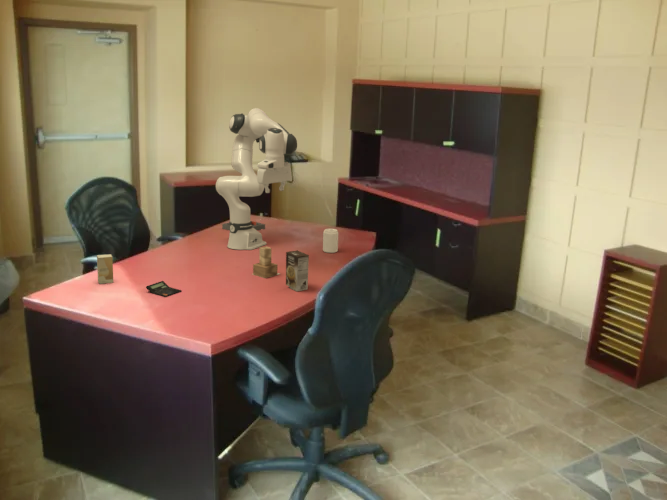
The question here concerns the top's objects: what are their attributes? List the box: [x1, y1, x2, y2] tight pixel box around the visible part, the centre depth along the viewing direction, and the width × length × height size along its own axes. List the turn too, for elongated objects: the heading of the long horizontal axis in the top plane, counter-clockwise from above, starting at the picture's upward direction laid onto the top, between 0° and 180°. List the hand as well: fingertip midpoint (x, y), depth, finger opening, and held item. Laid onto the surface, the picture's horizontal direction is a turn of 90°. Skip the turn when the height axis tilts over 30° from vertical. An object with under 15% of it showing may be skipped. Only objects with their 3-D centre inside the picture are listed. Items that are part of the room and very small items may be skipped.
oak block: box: [258, 245, 272, 266], centre depth 296 cm, size 4×4×8 cm
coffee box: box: [285, 250, 310, 292], centre depth 281 cm, size 9×6×16 cm
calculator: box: [145, 280, 183, 298], centre depth 273 cm, size 9×12×3 cm
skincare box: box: [96, 254, 114, 285], centre depth 281 cm, size 6×4×12 cm
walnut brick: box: [252, 262, 278, 279], centre depth 297 cm, size 8×8×5 cm
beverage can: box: [322, 228, 339, 254], centre depth 343 cm, size 8×8×12 cm
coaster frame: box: [221, 220, 266, 231], centre depth 389 cm, size 18×18×3 cm
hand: (274, 191), depth 306 cm, fingers open, 8 cm apart
